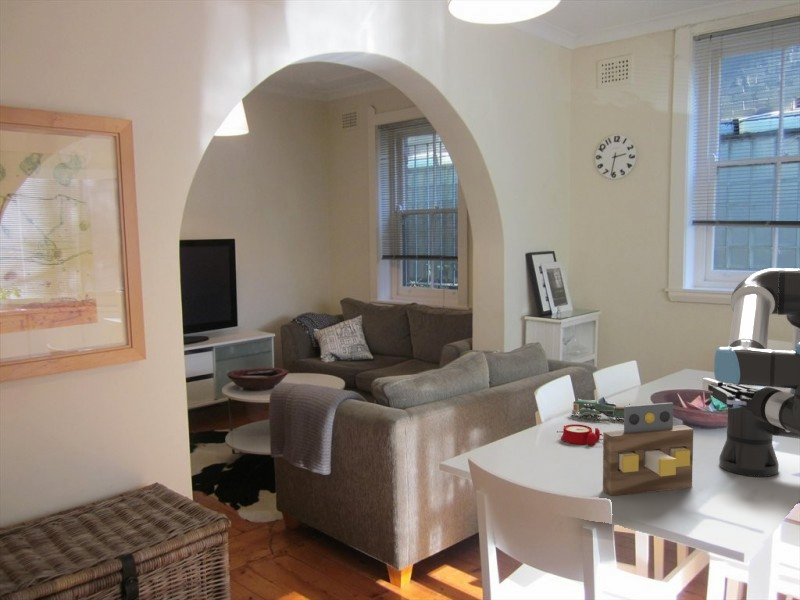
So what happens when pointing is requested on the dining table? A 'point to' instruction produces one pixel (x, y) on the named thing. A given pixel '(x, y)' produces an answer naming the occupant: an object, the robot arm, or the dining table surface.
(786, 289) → the robot arm
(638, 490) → the panel
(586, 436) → the alarm clock
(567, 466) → the dining table surface
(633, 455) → the button
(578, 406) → the hoverbike
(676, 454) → the button
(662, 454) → the button mid
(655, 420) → the card
